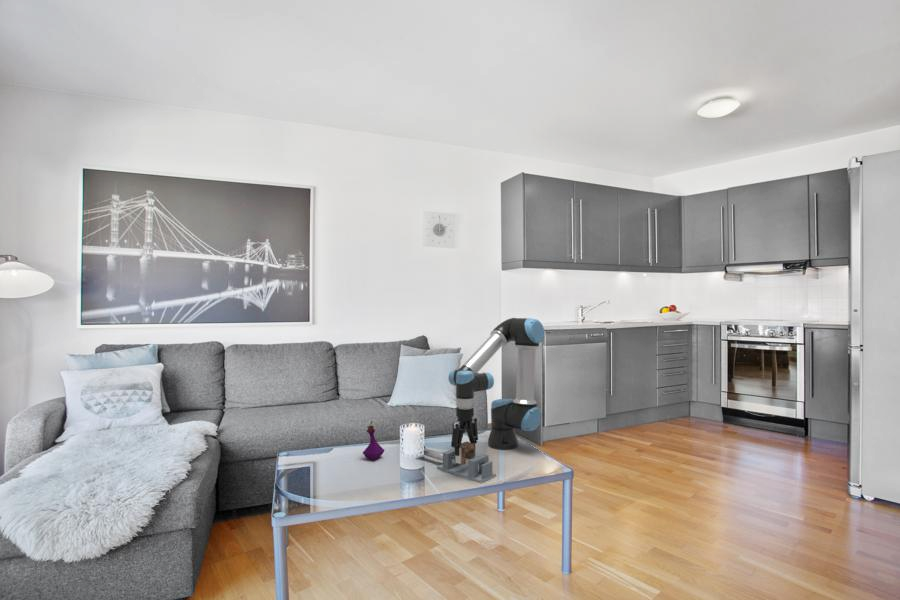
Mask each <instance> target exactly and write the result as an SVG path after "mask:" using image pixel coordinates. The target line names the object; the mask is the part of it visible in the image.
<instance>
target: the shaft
mask: <svg viewBox="0 0 900 600" xmlns="http://www.w3.org/2000/svg"><path fill="white" fill-rule="evenodd" d="M423 446H424V445H423ZM423 456H425V457H429V458H432V459H435V460H439V461H441V462H443V452H439V451H435V450H431V449H430V448H426V446H424V455H423ZM452 464H455V465H457V464H458V463H456V462H455V457H453V456H452Z"/></svg>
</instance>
